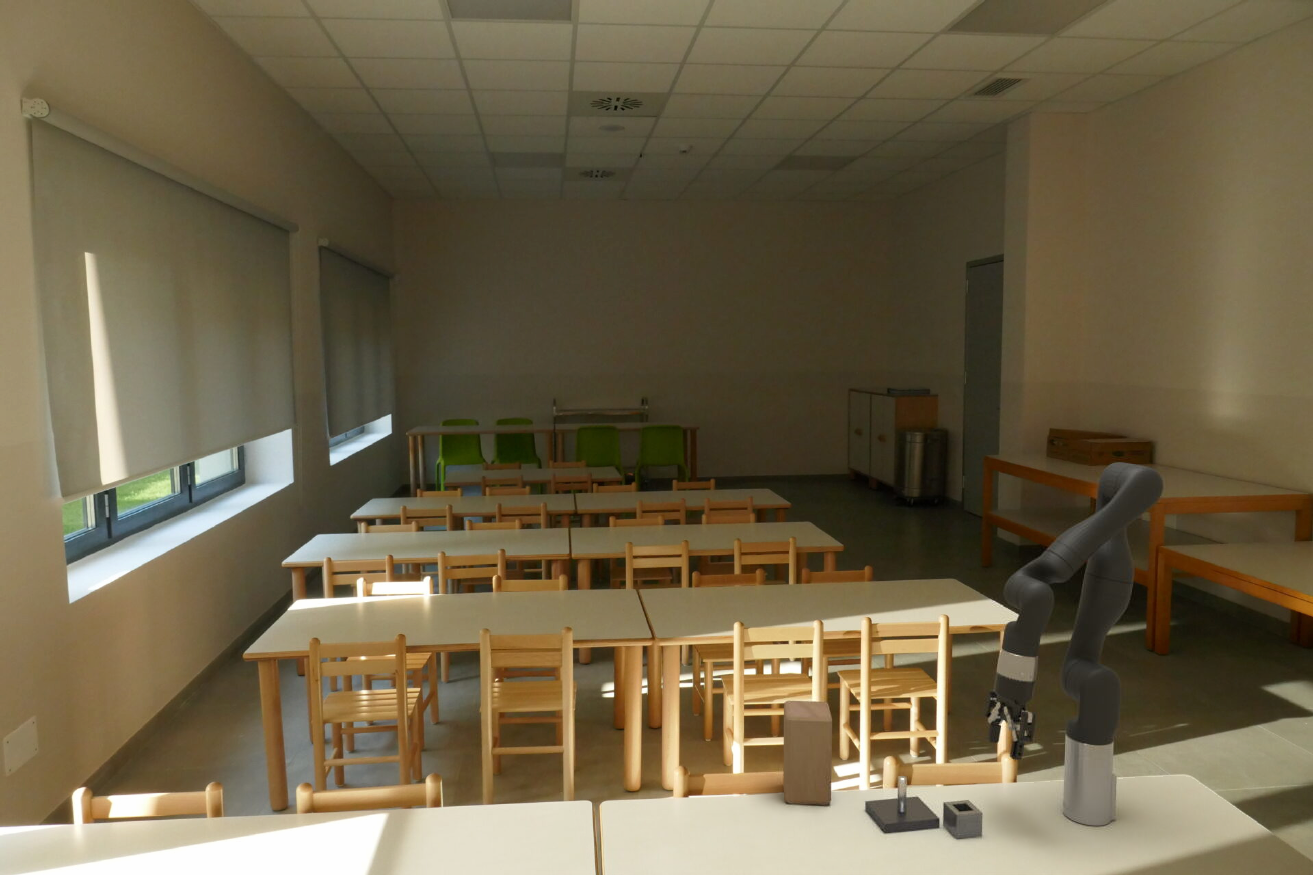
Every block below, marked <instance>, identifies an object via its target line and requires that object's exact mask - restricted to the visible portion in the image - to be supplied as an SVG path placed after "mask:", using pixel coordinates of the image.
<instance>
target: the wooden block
mask: <svg viewBox="0 0 1313 875" xmlns="http://www.w3.org/2000/svg"><path fill="white" fill-rule="evenodd" d="M829 705H830V704H829V703H828V702H826V701H811V700H786V701H785V702H784V704H783V764H782V766H783V767H782V770H783V775H782V778H783V780H782V781H783V794H784V800H785V802H786V803H787V802H788V803H787V804H799V805H800V804H801V805H820V806H821V805H822V806H824V805H825V806H827V805H830V803H832V802H831V801H832V766H833V765H832V761H833V760H832V758H833V757H832V756H833V755H832V752H833V750H832V749H833V748H832V747H833V744H832V743H833V741H832V740H833V718H832V714H831V710H830V706H829Z"/></svg>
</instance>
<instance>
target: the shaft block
mask: <svg viewBox="0 0 1313 875" xmlns="http://www.w3.org/2000/svg"><path fill="white" fill-rule="evenodd" d="M907 779H908V777H906V776H905V775H899V776H897V798H886V799H876V800H875V799H874V800H865V801H864V803H865V807H864V809H865V812H866V813H867V814H868V815H869V817H870V818H871V819H872V820H873V822H874V823H875V824H876V825H877V826H878V827H879V828H880V829H881V831H882V832H883V833H884V834H892V833H893V834H895V833H901V832H902V833H904V832H912V831H914V832H915V831H922V830H923V831H924V830H932V829H933V830H934V829H940V823H941V822H940V820H941V819H940V817H938V816H937V815H936V813H934V811H933V810H932V809H931V808H930V807H929V806H928V805H927V804H926V803H925V802H924V801H923V800H922V799H921V798H920V797H919V796H907V794H908V793H907V790H908V789H907V788H908V786H907V784H908V783H907V782H908V780H907Z"/></svg>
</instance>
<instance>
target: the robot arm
mask: <svg viewBox="0 0 1313 875" xmlns="http://www.w3.org/2000/svg"><path fill="white" fill-rule="evenodd" d="M1163 492H1164V481H1163V478H1162V476H1161V474H1160V473H1159V472H1158V471H1157V470H1155V469H1154V468H1151V467H1149V466H1145V465H1141V464H1134V463H1128V462H1120V461H1118V462H1112V463H1111V464H1108V465H1107V467H1105V468H1104V470H1103V471H1102V473H1101V475H1100V477H1099V480H1098V484H1097V492H1096V501H1095V502H1096V504H1095V513H1094V514H1092V515H1091V516H1089V517H1088V518H1085V519H1084V520H1081V521H1080V522H1079V523H1077V524H1074V525H1073V526H1071V527H1070V528H1068V529H1067V530H1064V532H1063V533H1061V534H1060V535H1059V536H1058V537H1056V539H1055V540H1054V541H1053V542H1052V543H1051V544H1050V545H1049V546H1048V547H1047V548H1046V549H1045V550H1044V551H1043V552H1042V554H1041V555H1040V556H1038V557H1037V558H1035V559H1033V560H1031V561H1030V562H1028V563H1027V564H1026V565H1024V566H1023V567H1021V568H1019V569H1018V570H1016V572H1014V573H1013V574H1012V575H1011V576H1010V577H1009V578H1008V580H1007V581H1006V583H1005V585H1004V587H1003V588H1004V589H1003V597H1004V600H1005V601H1006V603H1007V604H1009V606H1012V607H1013V608H1016V609H1018V610H1019V614H1018V616H1017V619H1016V620H1011V621H1009V622H1007V623H1006V624H1005V627H1004V632H1003V638H1002V643H1001V649H1000V653H999V655H998V660H997V667H996V671H995V672H996V673H995V679H994V685H993V689H988V691H987V692H988V693H987V697H986V703H985V707H984V713H983V714H984V715H983V716H984V717H985V718H987V722H988V723H989V725H988V726H989V727H988V734H987V735H988V736H987V741H988V742H990V743H993V744H995V743H996V744H997V743H999V742H1000V737H1001V736H1000V735H1001V730H1002V725H1001V724H1002V723H1003V722H1005V723H1006V724H1007V727H1008V729H1009V730H1010V731H1011V735H1012V740H1011V748H1010V754H1009V758H1011V759H1012V760H1018V761H1019V760H1021V759H1022V758H1023V754H1024V748H1025V743H1032V742H1033V741H1034V734H1035V726H1036V717H1037V716H1036V715H1037V714H1036V712H1034V711H1028V710H1027V703H1028V702H1030V701H1032V699H1033V698H1034V697H1033V696H1034V690H1035V684H1036V678H1037V672H1038V658H1039V657H1038V656H1039V651H1040V650H1039V649H1040V645H1041V638H1042V637H1041V636H1042V634H1043V633H1044V631H1045V629H1046V627H1047V624H1048V623H1049V620H1050V618H1051V615H1052V613H1053V610H1054V606H1055V605H1054V604H1055V594H1054V591H1053V589H1052V588H1051V587H1050V585H1051V584H1054V583H1055V584H1056V583H1065V582H1067V581H1068V580H1070V579H1071V578H1072V577H1073V575H1074V574H1076V572H1078V571H1079V569H1080V568H1081V567H1082V566H1083V565H1084V564H1085V563H1086V562H1087V563H1086V567H1085V573H1084V575H1083V580H1082V587H1081V593H1080V598H1079V603H1078V609H1077V612H1076V618H1075V622H1074V627H1073V631H1072V634H1071V637H1070V641H1069V642H1068V643H1069V644H1068V647H1067V650H1066V653H1065V656H1064V659H1063V663H1062V666H1061V669H1060V676H1059V680H1060V681H1059V682H1060V687H1061V688H1062V690H1063V692H1064V693H1065V694H1066V695H1067V696H1068V697H1070V698H1071V699H1074V700H1075V701H1076V702H1078V703H1079V705H1078V713H1077V714H1078V716H1077V715H1076V716H1072V717H1069V718H1068V719H1067V720H1066V723H1065V737H1064V739H1065V740H1064V741H1065V742H1064V743H1065V744H1064V746H1065V748H1064V772H1063V773H1064V774H1063V796H1062V797H1063V798H1062V803H1063V804H1062V812H1063V814H1064V815H1065V817H1066V818H1068V819H1070V820H1071V821H1073V822H1075V823H1079V824H1082V825H1087V826H1098V827H1099V826H1106V825H1108V824H1109V823H1110V822H1111V821H1116V811H1117V810H1116V808H1117V806H1116V805H1117V783H1118V782H1117V781H1118V779H1117V778H1118V777H1117V776H1116V774H1114V773H1113V770H1114V742H1115V734H1116V732H1117V730H1118V727H1119V723H1120V716H1121V706H1122V696H1123V695H1122V694H1123V693H1122V692H1123V691H1122V683H1121V679H1120V677H1119V675H1118V674H1117V672H1116V671H1115V670H1113V669H1111V668H1110V667H1108V666H1106V665H1104V664H1101V658H1102V652H1103V648H1104V642H1105V640H1106V637H1107V635H1108V634H1109V632H1110V630H1112V628H1113V627H1114V625H1116V623H1117V622H1118V621H1119V620H1120V618H1121V617H1122V616H1123V615H1124V613H1125V611H1126V610H1127V608H1128V606H1129V604H1130V600H1131V596H1132V592H1133V591H1132V590H1133V586H1134V580H1135V568H1134V567H1135V565H1134V561H1133V557H1132V552H1131V550H1130V544H1129V540H1128V536H1127V535H1128V534H1127V529H1128V528H1127V527H1128V526H1129V525H1130V524H1131V523H1133V522H1135V521H1136V520H1137V519H1139V517H1141V516H1142V515H1144V514H1146V512H1147V511H1149V510H1150V509H1151V508H1152V507H1154V506H1155V505H1156V504H1157V503H1158V501H1160V499H1161V497H1162V496H1163V495H1162V494H1163ZM992 708H993V709H992ZM991 709H992V710H991ZM1018 731H1019V732H1018Z"/></svg>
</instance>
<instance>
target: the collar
mask: <svg viewBox="0 0 1313 875" xmlns="http://www.w3.org/2000/svg"><path fill="white" fill-rule="evenodd" d="M942 806H943V808H942V809H943V812H942V814H943V815H942V827H944V828H945V829H946V831H947V832H948V833H950V834H951V835H952V836H953V838H955V839H956V840H960V839H969V838H971V839H972V838H979V837H983V812H982V811H981V810H980V809H979V808H978V807H977V806H976V805H975V804H974V803H972V801H970V800H969V799H967V800H965V799H964V800H956V801H955V800H954V801H944V802H943V805H942Z"/></svg>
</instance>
